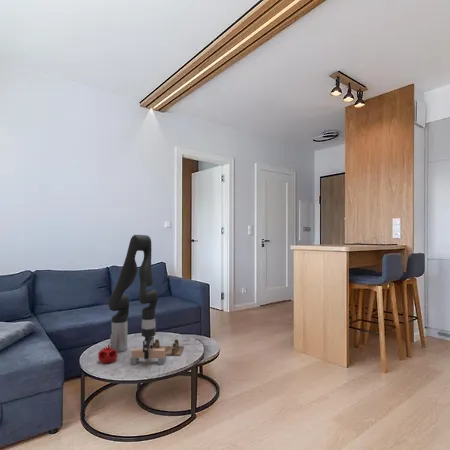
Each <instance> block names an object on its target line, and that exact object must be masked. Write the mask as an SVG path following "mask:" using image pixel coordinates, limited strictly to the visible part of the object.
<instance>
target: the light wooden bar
mask: <svg viewBox="0 0 450 450" xmlns="http://www.w3.org/2000/svg"><path fill="white" fill-rule="evenodd" d="M145 350H147V348H146V349H145ZM130 352H131V355H130V359H131V358H139V359H144V352H143V347H142V348H141V347H139V348H138V347H136V348H134V347H133V348H132V349H131V351H130ZM164 357H165V349H151V348H149V359H158V358H164Z"/></svg>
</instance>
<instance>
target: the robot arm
mask: <svg viewBox="0 0 450 450" xmlns="http://www.w3.org/2000/svg"><path fill="white" fill-rule="evenodd" d="M137 252H143V260H142V263H141V265H140V267H139V268H138V265H137V261H136V255H137ZM138 269H139V271H138ZM137 274H139V275H138V276H139V284H140V285H139V293H138V302H139V303H140V304H141V305H146V304H149V305H147V306H146V307H143V308H142V310H141V311H142V312H141V336H142V337H144V340H143V341H142V348H143V352H144V358H143V359H144V360H149V359H150V358H149V348H151V349H153V347H152V346H153V344H154V343H155V337H154V336H156V334H157V333H156V331H157V330H156V328H157V327H156V309H157V304H158V302H159V293H158V291H157V290H156V289H149V290H147V288H148V287H151V286H152V285H154V282H153V281H154V280H153V279H154V278H153V271H152V239H151V237H150V235H145V234H133V235H132V237H130V241H129V245H128V248H127V253H126V256H125V258H124V262H123V265H122V268H121V270H120V273H119V277H118V279H117V281H116V284H115V287H114V289H113V291H112V293H111V295H110V297H109V300H108V308H109V310H110V311H112V312H117V313H115V314H114V315H113V316H112V317H111V334H110V341H109V343H110V346H111V347H114V348H112V349H115V350H116V351H117V353H120V352H124V351H127V350H128V318H129V315H130V314H129V313H130V299H129V296H128V295H127V294H125V292H126V291H127V290H128V288H130V286H131V285H132V284H133V283H134V282H135V279H136V278H137ZM110 346H109V347H110ZM111 347H110V348H111ZM146 348H147V350H145V349H146Z"/></svg>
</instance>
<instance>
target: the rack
mask: <svg viewBox="0 0 450 450" xmlns="http://www.w3.org/2000/svg"><path fill="white" fill-rule="evenodd" d="M152 347H153V349H165V355H166V357H180V356H181V355H182V353H183V351H184V349H185V346H184V345H180V342H179V339H174V342H173V343H172V345H160V341H159V338H157V339H155V338H154V344H153V346H152Z"/></svg>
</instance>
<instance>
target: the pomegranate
mask: <svg viewBox="0 0 450 450" xmlns="http://www.w3.org/2000/svg"><path fill="white" fill-rule="evenodd" d="M110 347H111V346H110V344H107V345H105V346H104V347H102V348H101V350H99V351H98V354H97V355H98V360H99V362H100V363H101V364H112V363H114V362H115V361H116V360H117V357H118V352H117V351H116V350H115V349H112V348H114V347H111V348H110Z"/></svg>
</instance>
